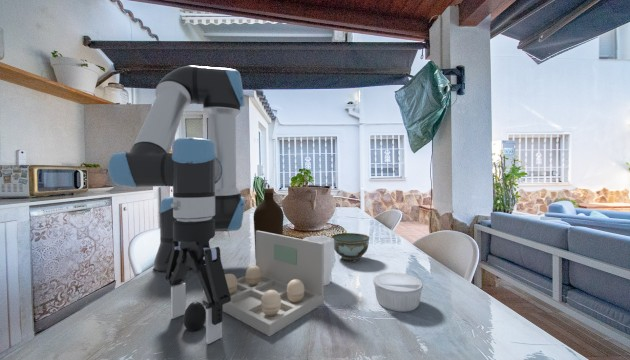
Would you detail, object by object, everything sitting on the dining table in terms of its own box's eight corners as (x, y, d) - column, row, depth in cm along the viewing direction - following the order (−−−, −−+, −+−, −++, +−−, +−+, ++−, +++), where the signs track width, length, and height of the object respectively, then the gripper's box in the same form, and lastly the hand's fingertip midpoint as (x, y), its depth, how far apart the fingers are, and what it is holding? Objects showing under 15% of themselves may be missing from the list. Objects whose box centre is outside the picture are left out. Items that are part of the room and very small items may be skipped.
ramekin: (396, 319, 56) (396, 294, 56) (363, 298, 66) (363, 276, 66) (433, 307, 62) (433, 284, 62) (397, 289, 72) (397, 269, 71)
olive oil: (274, 264, 91) (274, 189, 90) (247, 261, 94) (247, 189, 94) (288, 255, 101) (288, 188, 100) (263, 252, 104) (263, 187, 104)
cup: (331, 290, 71) (332, 244, 71) (298, 287, 73) (298, 242, 72) (336, 277, 80) (336, 236, 79) (306, 275, 81) (306, 235, 81)
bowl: (373, 265, 90) (373, 241, 90) (332, 265, 91) (332, 241, 90) (365, 253, 104) (365, 232, 104) (330, 253, 104) (330, 232, 104)
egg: (210, 323, 55) (210, 299, 55) (195, 335, 51) (195, 308, 51) (194, 320, 56) (194, 296, 56) (178, 331, 52) (178, 305, 52)
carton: (202, 300, 65) (202, 241, 65) (258, 279, 78) (257, 230, 78) (269, 336, 50) (269, 261, 50) (323, 303, 63) (323, 243, 63)
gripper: (147, 214, 58) (148, 314, 58) (212, 228, 42) (212, 364, 42) (183, 211, 64) (183, 301, 64) (250, 222, 48) (251, 341, 48)
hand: (194, 327), depth 53 cm, fingers open, 13 cm apart
